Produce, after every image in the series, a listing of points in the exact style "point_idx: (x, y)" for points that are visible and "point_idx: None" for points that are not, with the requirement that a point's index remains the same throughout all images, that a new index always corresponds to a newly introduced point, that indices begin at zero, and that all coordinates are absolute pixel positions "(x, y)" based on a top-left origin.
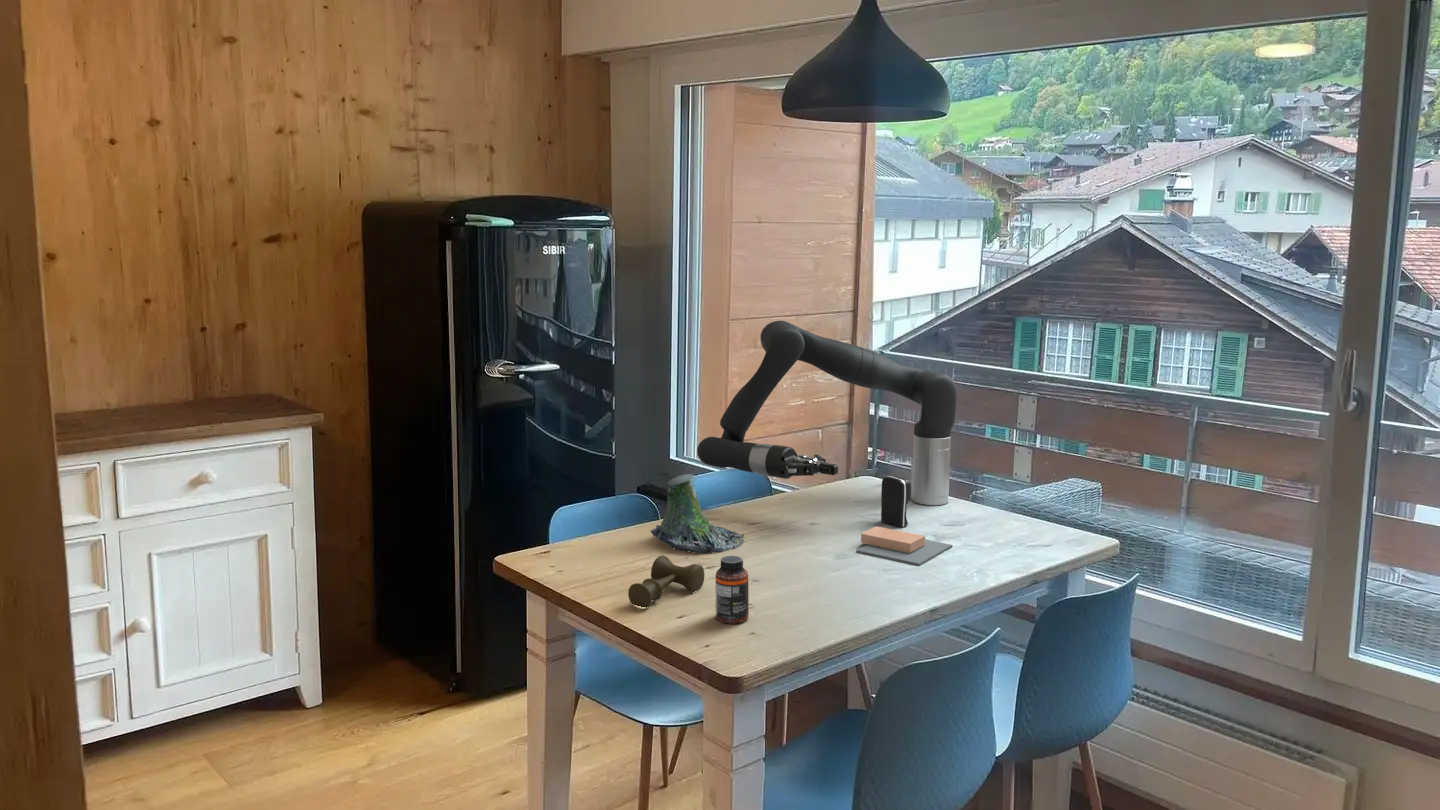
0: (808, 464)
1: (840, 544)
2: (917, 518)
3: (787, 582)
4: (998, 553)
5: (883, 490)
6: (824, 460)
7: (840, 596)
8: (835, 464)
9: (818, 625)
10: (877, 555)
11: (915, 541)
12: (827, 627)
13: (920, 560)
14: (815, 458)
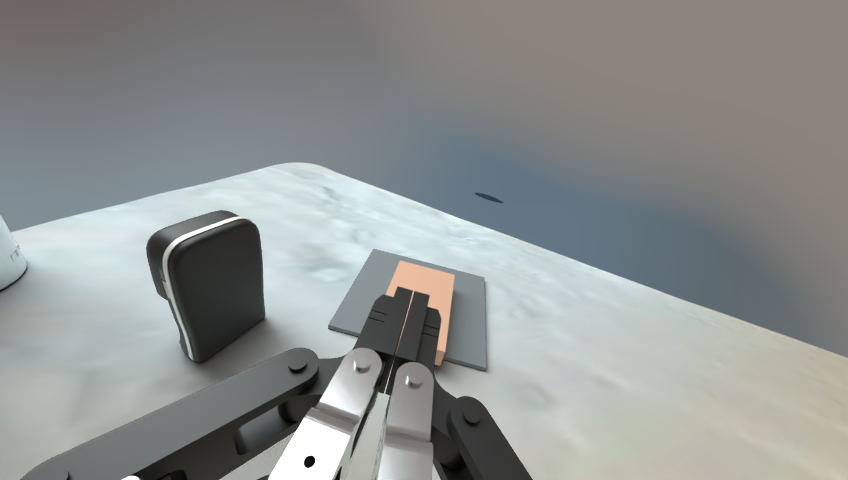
0: (480, 438)
1: None
2: None
3: (753, 457)
4: (378, 219)
5: (192, 287)
6: (314, 355)
7: (681, 350)
8: (398, 290)
9: (773, 354)
10: (484, 330)
11: (436, 270)
12: (762, 344)
13: (470, 277)
14: (320, 413)
